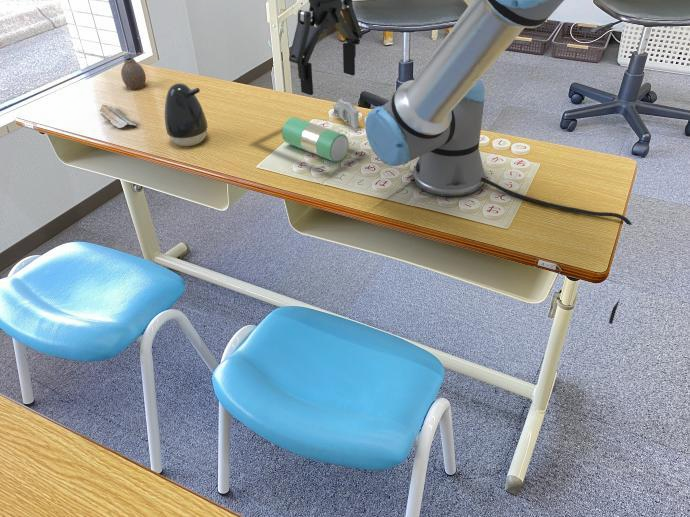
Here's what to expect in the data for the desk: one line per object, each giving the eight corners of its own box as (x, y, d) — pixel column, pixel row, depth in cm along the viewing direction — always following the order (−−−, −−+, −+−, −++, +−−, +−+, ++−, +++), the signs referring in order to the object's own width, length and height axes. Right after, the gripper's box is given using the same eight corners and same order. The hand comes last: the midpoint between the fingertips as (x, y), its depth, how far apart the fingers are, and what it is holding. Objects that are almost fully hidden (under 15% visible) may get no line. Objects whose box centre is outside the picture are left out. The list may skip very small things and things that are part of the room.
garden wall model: (333, 114, 160) (332, 93, 156) (338, 113, 161) (337, 92, 157) (354, 130, 152) (353, 109, 148) (360, 129, 152) (360, 107, 149)
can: (349, 156, 140) (348, 130, 136) (330, 166, 136) (329, 140, 132) (302, 138, 148) (300, 113, 144) (283, 147, 145) (280, 122, 140)
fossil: (94, 112, 167) (103, 100, 167) (103, 119, 169) (113, 107, 170) (119, 132, 155) (129, 119, 156) (129, 139, 158) (139, 127, 158)
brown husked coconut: (121, 91, 180) (113, 62, 174) (131, 82, 185) (123, 54, 180) (142, 91, 179) (134, 63, 173) (151, 83, 184) (144, 55, 179)
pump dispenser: (201, 152, 145) (189, 93, 136) (163, 150, 147) (148, 91, 138) (217, 134, 153) (206, 77, 144) (180, 132, 155) (167, 75, 146)
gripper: (351, -38, 124) (352, 62, 137) (264, -12, 109) (275, 97, 122) (379, -33, 120) (378, 69, 133) (293, -6, 105) (301, 106, 118)
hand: (328, 83), depth 128 cm, fingers open, 13 cm apart
